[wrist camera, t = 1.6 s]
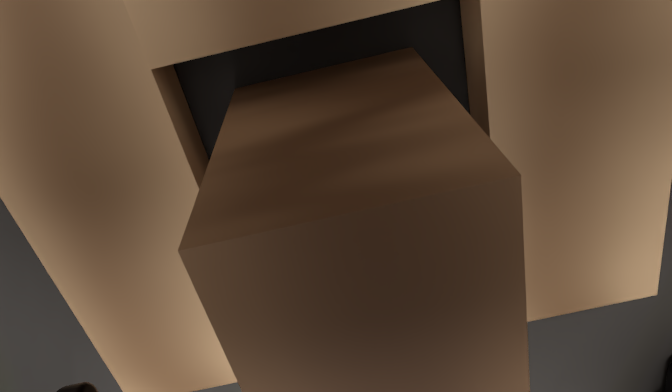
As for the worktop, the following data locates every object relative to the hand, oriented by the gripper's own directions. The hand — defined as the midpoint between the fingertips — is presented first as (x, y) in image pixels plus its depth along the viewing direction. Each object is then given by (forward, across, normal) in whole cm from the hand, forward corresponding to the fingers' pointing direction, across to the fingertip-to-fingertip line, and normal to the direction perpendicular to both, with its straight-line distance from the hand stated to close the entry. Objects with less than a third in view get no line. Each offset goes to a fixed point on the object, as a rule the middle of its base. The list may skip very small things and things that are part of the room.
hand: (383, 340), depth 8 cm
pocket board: (+7, 0, 0) cm, 7 cm away
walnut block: (+7, 0, 0) cm, 7 cm away
